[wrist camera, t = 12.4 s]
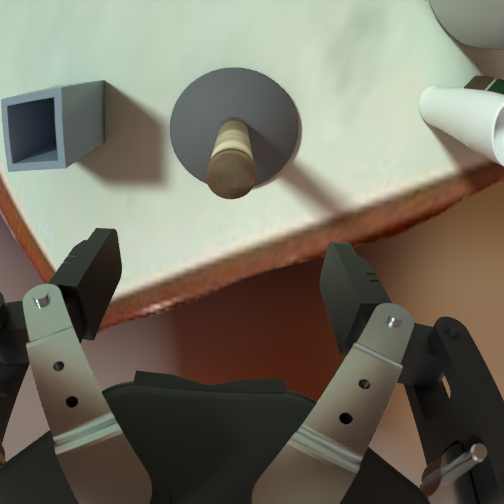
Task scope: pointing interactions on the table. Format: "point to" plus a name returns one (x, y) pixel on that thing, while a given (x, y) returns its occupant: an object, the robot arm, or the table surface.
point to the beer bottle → (486, 84)
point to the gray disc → (234, 105)
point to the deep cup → (53, 126)
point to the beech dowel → (231, 161)
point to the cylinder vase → (472, 21)
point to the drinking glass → (467, 117)
